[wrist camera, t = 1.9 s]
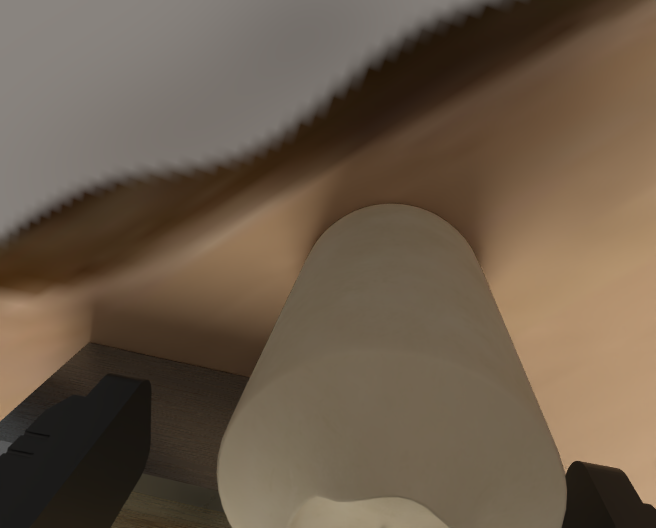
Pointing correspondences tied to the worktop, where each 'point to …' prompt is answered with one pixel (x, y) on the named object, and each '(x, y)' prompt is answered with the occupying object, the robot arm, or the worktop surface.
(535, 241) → the worktop surface
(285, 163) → the worktop surface
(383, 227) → the candle
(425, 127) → the worktop surface
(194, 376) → the grey open box
